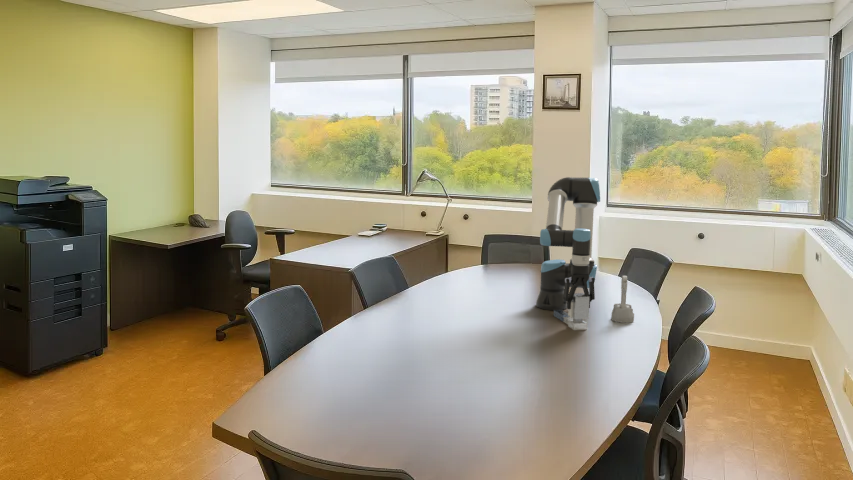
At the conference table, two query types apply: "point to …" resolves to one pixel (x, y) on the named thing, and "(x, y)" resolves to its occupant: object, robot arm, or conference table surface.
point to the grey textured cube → (580, 306)
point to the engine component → (623, 306)
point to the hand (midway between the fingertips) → (578, 315)
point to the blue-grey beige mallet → (570, 320)
